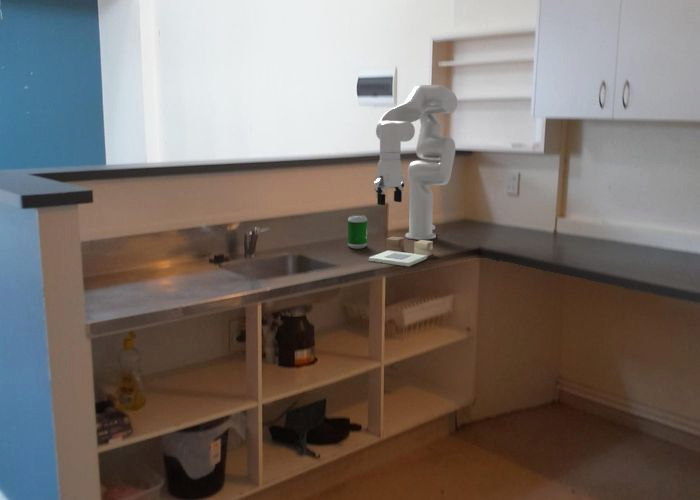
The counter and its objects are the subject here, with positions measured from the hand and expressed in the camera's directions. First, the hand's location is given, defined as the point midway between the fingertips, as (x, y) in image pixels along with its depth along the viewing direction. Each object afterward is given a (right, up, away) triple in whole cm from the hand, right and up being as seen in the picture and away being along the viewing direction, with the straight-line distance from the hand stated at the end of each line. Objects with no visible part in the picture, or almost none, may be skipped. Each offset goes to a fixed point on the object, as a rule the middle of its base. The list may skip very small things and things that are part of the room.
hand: (389, 203), depth 262 cm
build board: (+2, -21, -8) cm, 22 cm away
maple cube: (+12, -19, 0) cm, 23 cm away
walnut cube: (+2, -18, +6) cm, 19 cm away
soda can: (-12, -16, +14) cm, 24 cm away
